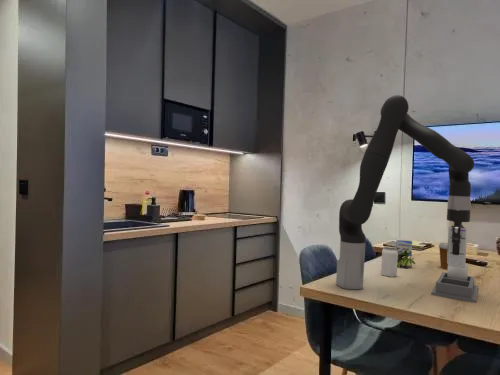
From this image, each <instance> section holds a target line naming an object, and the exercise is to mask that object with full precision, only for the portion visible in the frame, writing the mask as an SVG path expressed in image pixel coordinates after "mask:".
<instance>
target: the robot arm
mask: <svg viewBox="0 0 500 375" xmlns="http://www.w3.org/2000/svg"><path fill="white" fill-rule="evenodd" d="M409 107H410V106H409V101H408V100H407V98H405V97H404V96H403V95H400V94H396V95H392V96H390V97H388V98H387V99H385V101H384V103H383V104H382V106H381V108H380V119H379V123H378V126H377V128H376V130H375V132H374V134H373V135H372V137H371V139H370V141H369V143H368V145H367V147H366V149H365V151H364V154H363V157H362V159H361V162H360V166H359V181H358V186H357V190H356V191H355V194H354V197H353V199H351V198H350V199H346V200H345V201H344V202H342V203H341V205H340V208H339V212H338V214H339V215H338V219H339V220H338V233H339V236H340V243H339V259H337V260H336V277H335V278H336V279H335V285H337V286H338V287H340V288H342V289H346V290H361V289H363V288H364V273H365V258H366V255H365V253H366V239H367V238H366V235H365V233H364V231H363V228H362V227H363V226H362V225H363V224H365V223H366V222H367V221H368V220H369V219H370V216H371V214H372V209H373V208H374V207H373V206H374V204H375V199H376V194H377V193H378V192H377V191H378V189H379V187H380V184H381V182H382V180H383V176H384V174H385V171H386V169H387V167H388V164H389V161H390V158H391V155H392V152H393V149H394V146H395V142H396V137H397V134H398V132H399V131H401V132H402V133H404V134H405V135H407V136H408V137H410V138H412V139H413V140H414V141H416V143H418V144H420V145H421V147H423V148H425V149H426V150H427V152H429V153H431V155H433V156H434V157H435V158H437V159H440V160H441V161H444V162H445V163H446V164H448V179H449V185H448V188H449V189H448V199H447V206H446V207H447V209H446V211H447V212H446V220H447V221H450V222H453V225H451V226H452V227H453V228H452V229H453V230H452V235H451V237H452V244H453V249H452V254H453V255H459V249H460V244H461V243H460V240H461V239H462V233H461V235H460V232H461V228H464V227H465V226H464V225H463V223H469V222H471V207H472V206H471V204H472V202H471V195H472V194H471V193H472V186H471V185H472V184H471V182H470V180H469V179H470V178H469V176H470V175H469V173H470V172H471V171H472V170H473V169H474V167H475V161H474V159H473V157H472V156H471V155H470V154H469V153H467V152H466V151H464V150H463V149H461V148H459V146H458V147H457V146H455V145H454V144H452V143H451V142H450V141H449V140H448V139H446V138H445V136H443V135H441V134H440V133H439V132H437V131H436V130H434V129H432V128H430V127H428V126H425V125H424V124H421V123H420V122H418V121H417V120H415V119H414V118H413V117H412V116H410V115H409ZM454 238H457V239H458V240H454Z"/></svg>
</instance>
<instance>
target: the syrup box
mask: <svg viewBox="0 0 500 375" xmlns="http://www.w3.org/2000/svg"><path fill="white" fill-rule="evenodd" d="M452 226H453V225H450V226H449V225H448V226H447V227H448V233H447V243H448V251H447V264H448V266H452V267H460V268H465V263H467V262H466V259H467V257H466V255H467V228H466V227H465V226H463V227H464V228H461V232H460V235H461V233H462V239H461V240H460V243H461V244H460V249H459V255H453V254H452V249H453V244H452V237H451V235H452V230H453V229H452V228H453V227H452ZM454 240H458V239H457V238H454Z"/></svg>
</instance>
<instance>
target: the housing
mask: <svg viewBox="0 0 500 375" xmlns="http://www.w3.org/2000/svg"><path fill="white" fill-rule="evenodd" d="M468 273H469V264H468V263H467V262H465V268H460V267H452V266H448V269H447V271H446V272H444V271H442V273H441V274H440V276H439V277H438V279H437V281H436V282H435V285H434V287H433V288H432V290H431V292H430V296H436V297H440V298H448V299H453V300H458V301H464V302H470V303H475V304H476V303H477V302H476V301H477V297H476V296H478V289H479V285H477V284H476V285H475V278H476V277H475V276H471V275H469V274H468Z"/></svg>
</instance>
